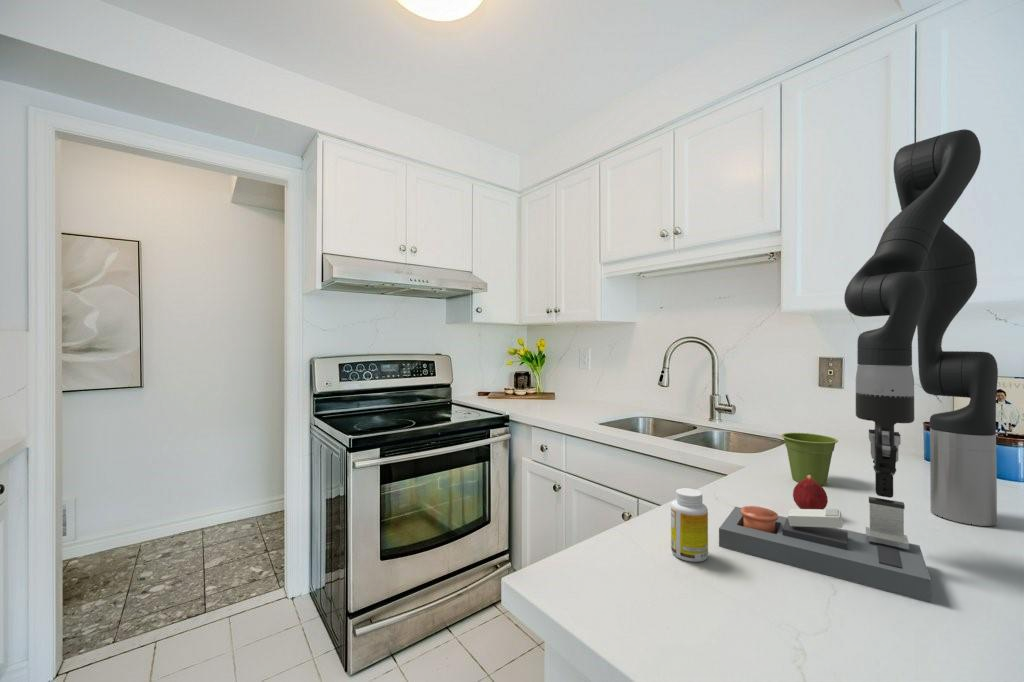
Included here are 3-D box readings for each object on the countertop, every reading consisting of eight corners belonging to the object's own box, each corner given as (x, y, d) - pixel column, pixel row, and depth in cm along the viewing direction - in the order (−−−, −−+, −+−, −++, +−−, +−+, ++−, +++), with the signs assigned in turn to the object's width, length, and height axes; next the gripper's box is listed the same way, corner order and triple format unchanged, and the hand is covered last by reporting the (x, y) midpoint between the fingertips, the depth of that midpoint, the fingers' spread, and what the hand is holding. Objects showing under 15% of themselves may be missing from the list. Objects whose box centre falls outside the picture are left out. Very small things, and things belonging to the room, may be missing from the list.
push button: (744, 527, 79) (744, 503, 79) (780, 536, 76) (779, 511, 76) (737, 538, 75) (737, 512, 75) (775, 547, 72) (775, 520, 72)
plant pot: (770, 476, 114) (770, 433, 114) (807, 473, 117) (806, 431, 117) (811, 490, 103) (811, 443, 103) (850, 487, 105) (850, 440, 106)
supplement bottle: (715, 559, 69) (715, 494, 69) (690, 566, 67) (690, 499, 67) (687, 544, 74) (687, 484, 74) (663, 551, 72) (663, 489, 72)
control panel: (735, 522, 84) (735, 501, 84) (919, 564, 68) (919, 538, 68) (719, 546, 73) (718, 522, 74) (931, 602, 57) (930, 572, 57)
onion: (833, 522, 84) (833, 480, 84) (800, 519, 85) (800, 478, 85) (818, 511, 90) (818, 472, 90) (788, 508, 91) (788, 470, 91)
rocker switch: (792, 518, 74) (789, 507, 74) (842, 520, 70) (839, 508, 70) (789, 526, 71) (787, 514, 71) (842, 528, 67) (839, 515, 67)
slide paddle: (865, 531, 71) (865, 494, 71) (906, 540, 68) (906, 500, 68) (866, 540, 68) (865, 500, 68) (909, 549, 65) (908, 508, 65)
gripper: (919, 396, 66) (919, 512, 65) (909, 391, 76) (910, 491, 76) (855, 393, 70) (855, 500, 70) (855, 388, 81) (855, 482, 80)
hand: (884, 495), depth 73 cm, fingers closed
